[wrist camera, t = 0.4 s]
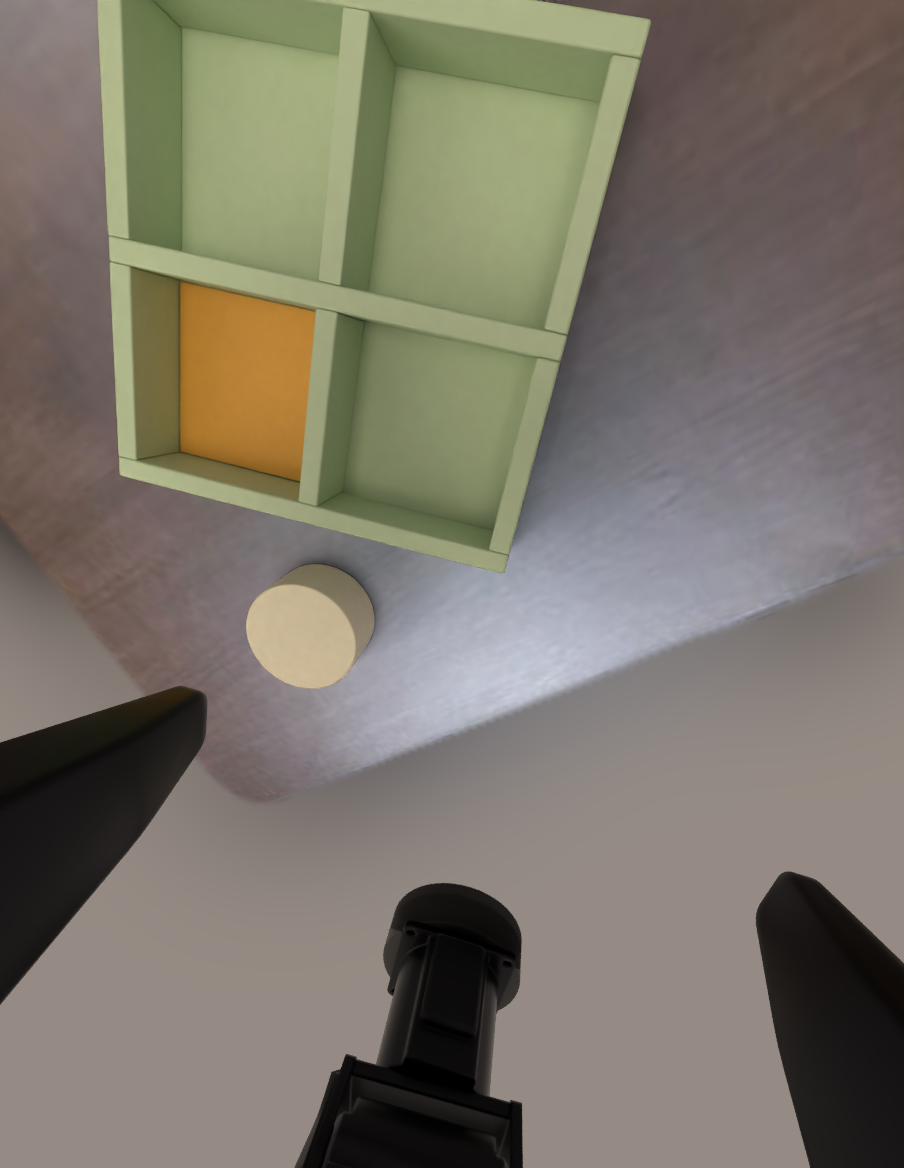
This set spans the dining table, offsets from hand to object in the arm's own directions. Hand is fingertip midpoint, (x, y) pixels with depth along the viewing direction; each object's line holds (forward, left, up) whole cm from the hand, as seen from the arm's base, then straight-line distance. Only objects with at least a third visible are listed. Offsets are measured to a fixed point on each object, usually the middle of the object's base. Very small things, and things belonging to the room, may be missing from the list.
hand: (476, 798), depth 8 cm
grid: (+7, +7, -13) cm, 17 cm away
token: (-5, +7, -13) cm, 16 cm away
